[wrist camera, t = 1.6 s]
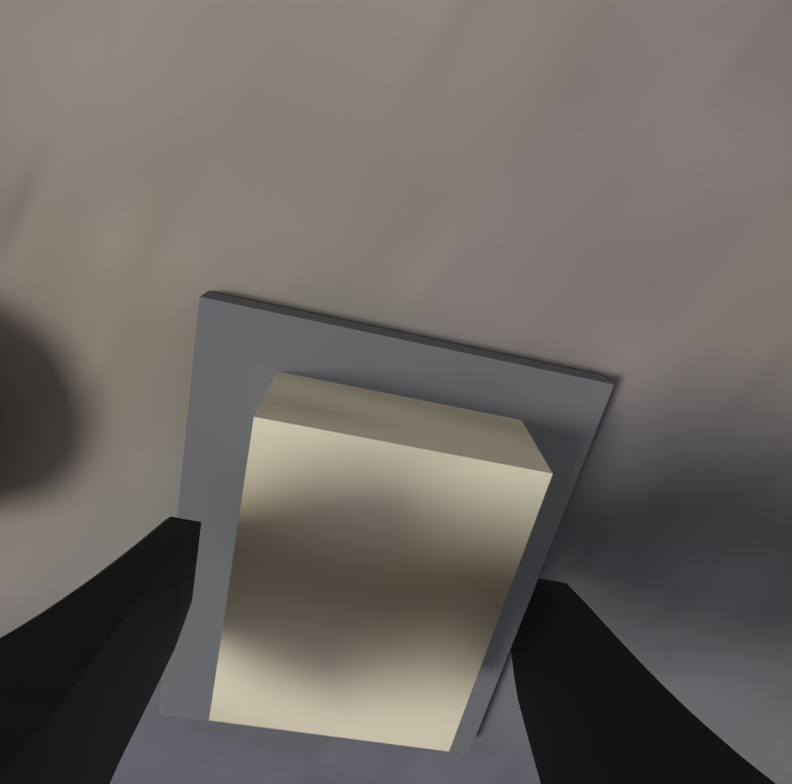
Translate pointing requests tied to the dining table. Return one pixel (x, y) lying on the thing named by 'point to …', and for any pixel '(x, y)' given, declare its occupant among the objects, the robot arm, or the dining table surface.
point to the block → (371, 561)
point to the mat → (370, 369)
